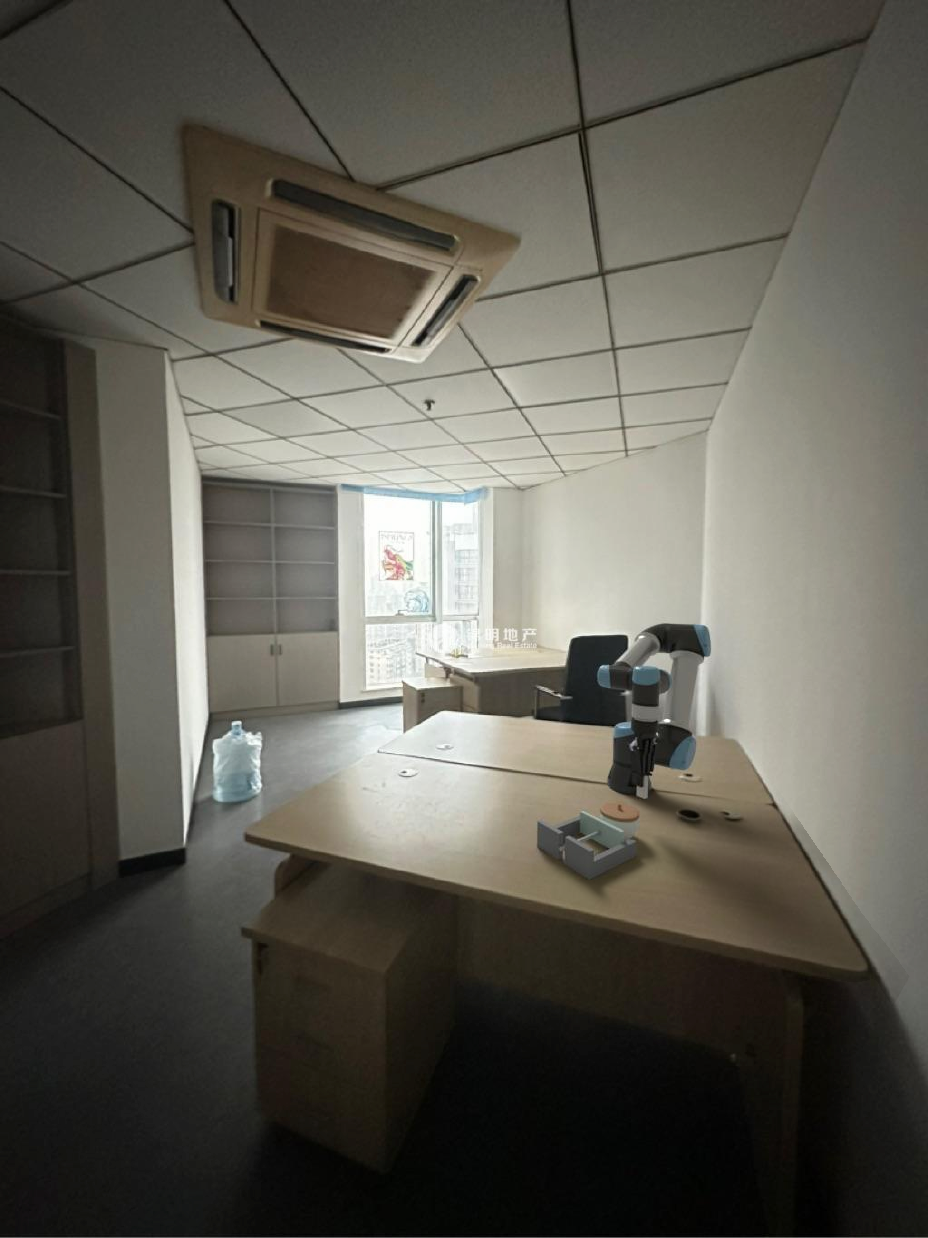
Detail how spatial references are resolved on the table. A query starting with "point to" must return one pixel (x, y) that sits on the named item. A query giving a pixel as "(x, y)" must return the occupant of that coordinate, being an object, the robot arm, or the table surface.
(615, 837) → the pusher
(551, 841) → the grey fixture frame
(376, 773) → the table surface
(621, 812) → the lidded jar
